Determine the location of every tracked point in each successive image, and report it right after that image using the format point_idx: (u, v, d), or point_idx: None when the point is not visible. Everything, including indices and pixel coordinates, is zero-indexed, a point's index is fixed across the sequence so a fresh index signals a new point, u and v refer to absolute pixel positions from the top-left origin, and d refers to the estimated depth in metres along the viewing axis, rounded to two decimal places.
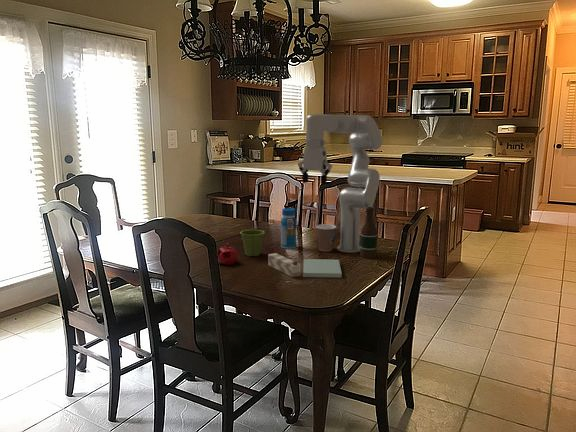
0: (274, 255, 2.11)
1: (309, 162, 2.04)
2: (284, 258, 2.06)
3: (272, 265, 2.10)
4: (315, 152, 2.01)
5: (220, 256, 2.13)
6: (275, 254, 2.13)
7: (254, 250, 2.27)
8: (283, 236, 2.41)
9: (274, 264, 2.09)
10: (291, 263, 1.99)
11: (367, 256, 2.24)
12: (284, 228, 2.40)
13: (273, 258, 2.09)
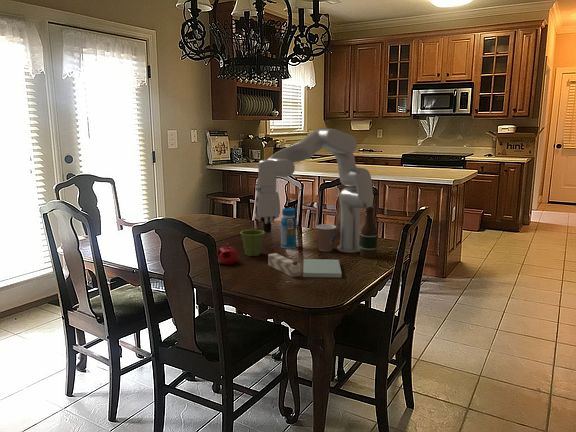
0: (274, 255, 2.11)
1: None
2: (284, 258, 2.06)
3: (272, 265, 2.10)
4: None
5: (220, 256, 2.13)
6: (275, 254, 2.13)
7: (254, 250, 2.27)
8: (283, 236, 2.41)
9: (274, 264, 2.09)
10: (291, 263, 1.99)
11: (367, 256, 2.24)
12: (284, 228, 2.40)
13: (273, 258, 2.09)
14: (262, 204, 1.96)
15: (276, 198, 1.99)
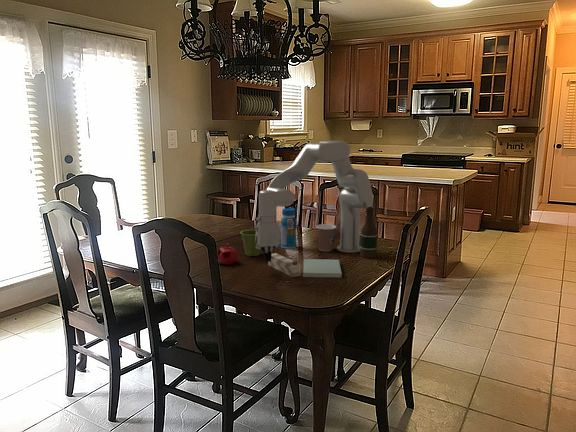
0: (274, 255, 2.11)
1: None
2: (284, 258, 2.06)
3: (272, 265, 2.10)
4: None
5: (220, 256, 2.13)
6: (275, 254, 2.13)
7: (254, 250, 2.27)
8: (283, 236, 2.41)
9: (274, 264, 2.09)
10: (291, 263, 1.99)
11: (367, 256, 2.24)
12: (284, 228, 2.40)
13: (273, 258, 2.09)
14: (262, 234, 1.98)
15: (276, 227, 2.01)
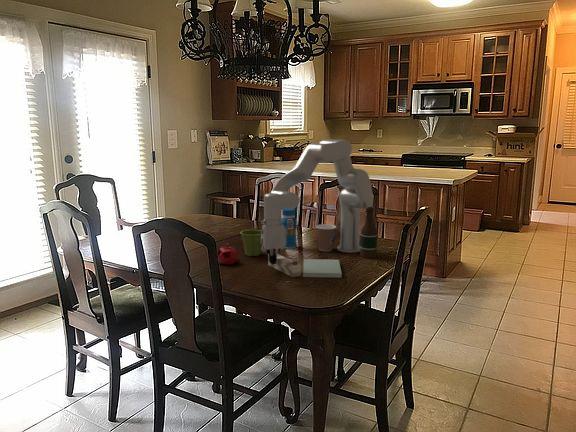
0: None
1: None
2: (284, 258, 2.06)
3: (272, 265, 2.10)
4: None
5: (220, 256, 2.13)
6: None
7: (254, 250, 2.27)
8: None
9: (274, 264, 2.09)
10: (291, 263, 1.99)
11: (367, 256, 2.24)
12: (284, 228, 2.40)
13: None
14: (268, 237, 2.00)
15: (282, 230, 2.03)
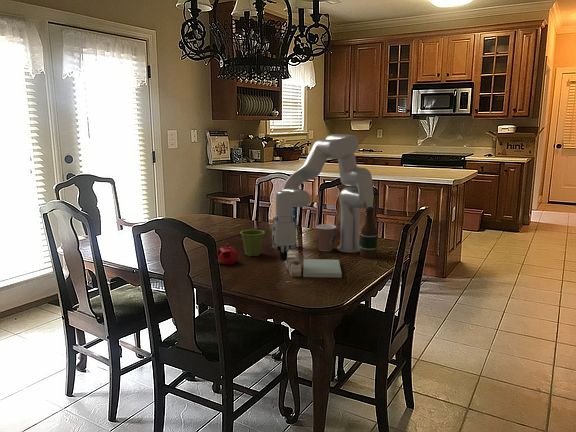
0: (288, 253, 2.14)
1: None
2: (293, 257, 2.08)
3: (285, 263, 2.13)
4: None
5: (220, 256, 2.13)
6: (290, 253, 2.15)
7: (254, 250, 2.27)
8: None
9: (286, 262, 2.12)
10: (293, 263, 2.00)
11: (367, 256, 2.24)
12: None
13: None
14: (279, 234, 2.02)
15: (293, 227, 2.05)
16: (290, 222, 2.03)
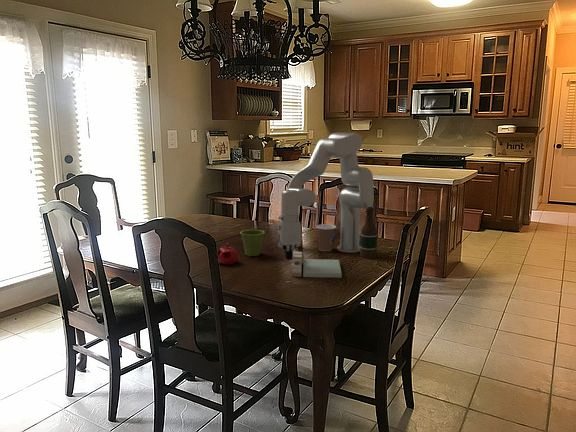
0: (296, 253, 2.14)
1: None
2: (298, 257, 2.08)
3: None
4: None
5: (220, 256, 2.13)
6: (299, 253, 2.15)
7: (254, 250, 2.27)
8: None
9: None
10: None
11: (367, 256, 2.24)
12: None
13: None
14: (285, 233, 2.03)
15: (298, 226, 2.06)
16: (296, 221, 2.04)
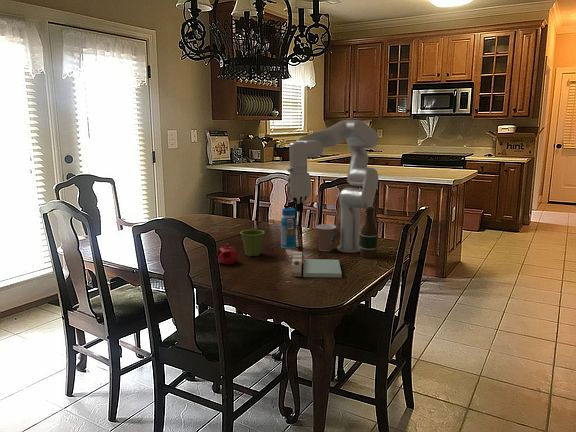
0: (296, 253, 2.14)
1: None
2: (299, 257, 2.08)
3: None
4: None
5: (220, 256, 2.13)
6: (299, 253, 2.15)
7: (254, 250, 2.27)
8: (283, 236, 2.41)
9: None
10: None
11: (367, 256, 2.24)
12: (284, 228, 2.40)
13: None
14: (294, 185, 2.03)
15: (308, 178, 2.05)
16: (305, 173, 2.03)
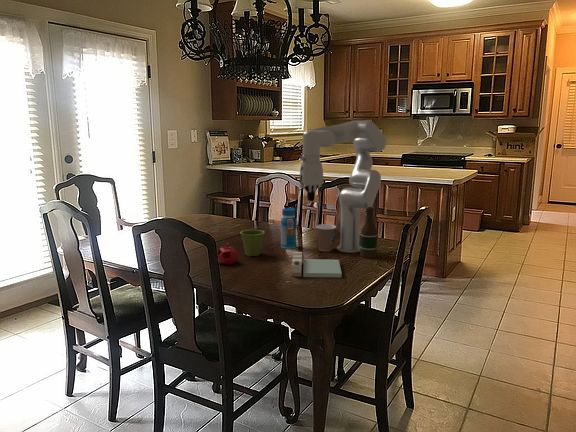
0: (296, 253, 2.14)
1: None
2: (299, 257, 2.08)
3: None
4: None
5: (220, 256, 2.13)
6: (299, 253, 2.15)
7: (254, 250, 2.27)
8: (283, 236, 2.41)
9: None
10: None
11: (367, 256, 2.24)
12: (284, 228, 2.40)
13: None
14: (307, 173, 2.05)
15: (320, 167, 2.08)
16: (317, 161, 2.06)
